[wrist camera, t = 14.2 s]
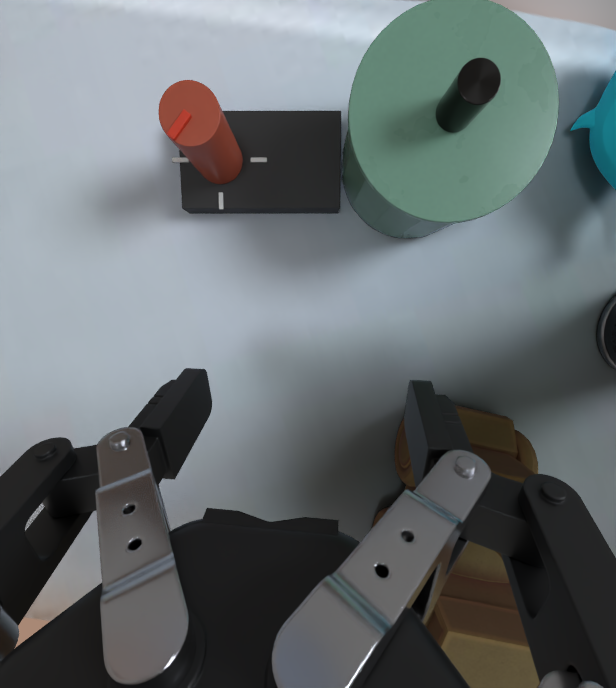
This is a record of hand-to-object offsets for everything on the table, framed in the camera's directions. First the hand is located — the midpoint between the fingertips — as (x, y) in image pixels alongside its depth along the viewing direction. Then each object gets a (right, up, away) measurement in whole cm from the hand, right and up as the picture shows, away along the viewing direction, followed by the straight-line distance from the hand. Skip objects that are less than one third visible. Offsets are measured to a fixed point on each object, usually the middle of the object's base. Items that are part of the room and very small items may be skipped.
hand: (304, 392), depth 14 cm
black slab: (-4, +18, +19) cm, 26 cm away
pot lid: (+10, +17, +9) cm, 22 cm away
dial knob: (-7, +18, +17) cm, 26 cm away
